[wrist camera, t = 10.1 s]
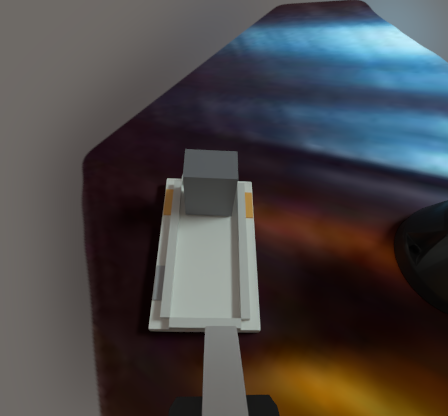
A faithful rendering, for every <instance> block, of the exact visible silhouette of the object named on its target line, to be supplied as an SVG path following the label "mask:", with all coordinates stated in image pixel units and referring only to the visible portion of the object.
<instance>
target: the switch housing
mask: <svg viewBox="0 0 448 416" xmlns="http://www.w3.org/2000/svg"><path fill="white" fill-rule="evenodd" d="M205 326H237V332H242V333H258V332H259V331H260V314H259V298H258V281H257V265H256V248H255V231H254V215H253V198H252V182H240V181H238V183H237V189H236V194H235V200H234V205H233V210H232V216H213V215H186V213H185V199H184V185H183V175H182V179H170V178H167V183H166V192H165V200H164V208H163V216H162V224H161V232H160V240H159V248H158V256H157V264H156V272H155V280H154V288H153V296H152V304H151V312H150V320H149V328H148V329H149V330H150V331H161V332H205Z"/></svg>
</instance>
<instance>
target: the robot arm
mask: <svg viewBox="0 0 448 416" xmlns="http://www.w3.org/2000/svg"><path fill="white" fill-rule="evenodd" d="M394 249H395V255H396V259H397V262H398V265H399V267H400V269H401V271H402V273H403V275H404V276H405V278H406V280H407V281H408V282H409V284H410V285H411V286H412V287H413V288H414V290H415V291H416V292H417V293H418V294H419V295H420V296H421V297H422V298H424V299H425V300H426V301H427V302H429V303H430V304H431V305H433V306H434V307H436V308H437V309H439V310H441V311H443V312H445V313H447V314H448V200H447V201H444V202H441V203H438V204H435V205H431V206H428V207H425V208H422V209H420V210H418V211H417V212H415V213H414V214H412V215H411V216H410V217H409V218H407V219H406V220H405V221H404V222H403V223H402V224H401V225H400V227H399V228H398V230H397V232H396V235H395V240H394ZM168 416H279V412H278V408H277V405H276V404H275V403H274V401H273V400H272V398H271V397H270V396H269V395H246V393H245V385H244V378H243V370H242V363H241V356H240V348H239V341H238V333H237V326H205V346H204V373H203V397H177V398H176V399H175V401H174V402H173V404H172V406H171V407H170V409H169V415H168Z"/></svg>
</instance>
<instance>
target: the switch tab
mask: <svg viewBox="0 0 448 416" xmlns="http://www.w3.org/2000/svg"><path fill="white" fill-rule="evenodd" d="M237 183H238V156H237V152H233V151H212V150H192V149H185V159H184V170H183V185H184V199H185V213H186V215H213V216H232V210H233V205H234V200H235V194H236V189H237Z"/></svg>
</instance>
